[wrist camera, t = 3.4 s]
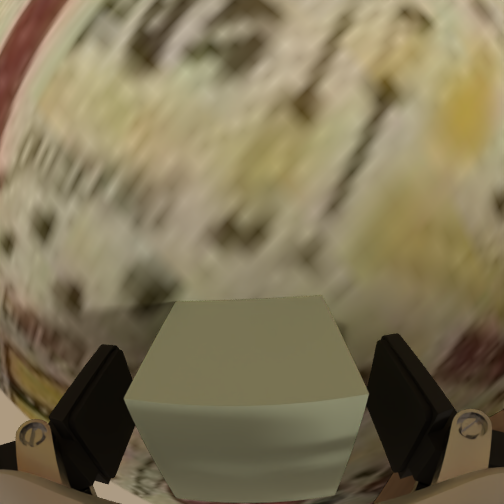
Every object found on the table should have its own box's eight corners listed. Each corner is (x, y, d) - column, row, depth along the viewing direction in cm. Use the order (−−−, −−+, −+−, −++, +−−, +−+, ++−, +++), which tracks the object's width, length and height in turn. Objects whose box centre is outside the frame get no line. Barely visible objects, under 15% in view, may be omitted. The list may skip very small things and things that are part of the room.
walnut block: (508, 406, 12) (544, 453, 7) (460, 474, 15) (480, 515, 9) (406, 450, 13) (435, 522, 7) (369, 508, 15) (382, 559, 10)
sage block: (321, 294, 10) (369, 393, 5) (313, 398, 11) (334, 495, 6) (176, 300, 10) (123, 398, 5) (197, 402, 11) (176, 498, 6)
